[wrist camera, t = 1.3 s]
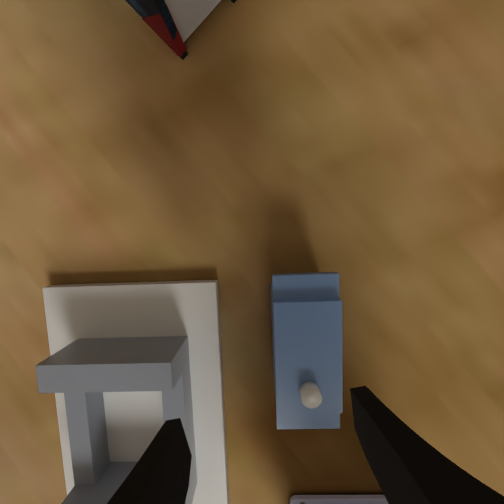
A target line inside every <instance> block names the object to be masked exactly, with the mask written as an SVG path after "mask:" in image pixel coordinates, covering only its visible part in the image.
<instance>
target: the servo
mask: <svg viewBox="0 0 504 504" xmlns="http://www.w3.org/2000/svg"><path fill="white" fill-rule="evenodd" d="M270 288H271V319H272V350H273V375H274V387H275V398H276V423H277V429H340V413H343V371H342V300H341V299H340V298H339V273H337V272H316V273H285V274H272V284H270Z"/></svg>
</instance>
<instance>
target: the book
mask: <svg viewBox="0 0 504 504" xmlns="http://www.w3.org/2000/svg"><path fill="white" fill-rule="evenodd" d="M126 1H127V2H128V3H129V4H130V5H131V6H132V7H133V9H134V10H135V11H136V12H137V13H138V14H139V15H140V16H141V17H142V19H143V20H144V21H145V22H146V23H147V24H148V25H149V26H150V27H151V28H152V29H153V30H154V31H155V32H156V33H157V34H158V36H159V37H160V38H161V39H162V40H163V41H164V42H165V43H166V44H167V45H168V46H169V47H170V48H171V49H172V50H173V51H174V52H175V53H176V54H177V55H178V56H180V57H181V58H182V60H183V59H184V58H185V57H186V56H187V55H188V53H187V51H186V47H185V45H184V42H185V41H186V40H187V38H188V37H189V36H190V35H191V34H192V33H193V32H194V31H195V29H196V28H197V27H198V26H199V25H200V24H201V23H202V22H203V20H204V19H205V18H206V17H207V16H208V15H209V14H210V13H211V12H212V10H213V9H214V8H215V7H216V6H217V5H218V4H219V3H220V1H221V0H126ZM231 1H232V2H233V3H234V2H235V1H236V0H231Z"/></svg>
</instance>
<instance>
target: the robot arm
mask: <svg viewBox="0 0 504 504" xmlns="http://www.w3.org/2000/svg"><path fill="white" fill-rule="evenodd" d="M350 391H351V400H352V408H353V416H354V425H355V430H356V432H357V435H358V438H359V441H360V443H361V446H362V449H363V451H364V454H365V456H366V458H367V461H368V463H369V465H370V467H371V469H372V471H373V473H374V475H375V477H376V479H377V481H378V483H379V485H380V487H381V489H382V491H383V493H384V495H293V496H292V497H291V498H290V504H504V496H502V495H501V494H499V493H498V492H496V491H494V490H493V489H491V488H490V487H488V486H486V485H485V484H483V483H482V482H480V481H479V480H477V479H476V478H474V477H473V476H472V475H470V474H469V473H467V472H466V471H464V470H463V469H461V468H460V467H459V466H457V465H456V464H455V463H453V462H452V461H450V460H449V459H448V458H446V457H445V456H444V455H442V454H441V453H440V452H439V451H437V450H436V449H435V448H433V447H432V446H431V445H430V444H429V443H427V442H426V441H425V440H424V439H422V438H421V437H420V436H419V435H418V434H416V433H415V432H414V431H413V430H412V429H411V428H409V427H408V426H407V425H406V424H405V423H404V422H403V421H401V420H400V419H399V418H398V417H397V416H396V415H395V414H394V413H393V412H392V411H391V410H389V409H388V408H387V407H386V406H385V405H384V404H383V403H382V402H381V401H380V400H379V399H378V398H377V397H376V396H375V395H374V394H373V393H372V392H371V391H370V390H369V389H368V388H367V387H366V386H362V387H356V388H350ZM191 460H192V454H191V451H190V448H189V445H188V442H187V438H186V435H185V432H184V429H183V426H182V422H181V419H180V418H177V419H171V420H166V421H165V423H164V424H163V425H162V427H161V428H160V430H159V431H158V433H157V434H156V436H155V437H154V439H153V440H152V442H151V443H150V445H149V446H148V448H147V449H146V451H145V452H144V453H143V455H142V456H141V458H140V459H139V461H138V462H137V463H136V465H135V466H134V468H133V469H132V471H131V472H130V473H129V475H128V476H127V478H126V479H125V480H124V481H123V483H122V484H121V485H120V487H119V488H118V489H117V491H116V492H115V493H114V495H113V496H112V497H111V499H110V500H109V501H108V502H107V504H185V501H186V496H187V491H188V486H189V479H190V470H191ZM301 502H304V503H301Z"/></svg>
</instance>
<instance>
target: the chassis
mask: <svg viewBox="0 0 504 504" xmlns="http://www.w3.org/2000/svg"><path fill="white" fill-rule="evenodd" d="M43 296H44V305H45V313H46V321H47V330H48V338H49V347H50V355H51V356H50V357H48V358H47V359H45V360H44V361H42V362H40V363H39V364H37V365H36V374H37V382H38V390H39V393H55V398H56V406H57V414H58V423H59V431H60V440H61V448H62V457H63V465H64V474H65V482H66V491H67V497H66V498H65V500H64V501H63V502H62V504H107V502H108V501H109V500H110V499H111V497H112V496H113V495H114V493H115V492H116V491H117V489H118V488H119V487H120V485H121V484H122V483H123V481H124V480H125V479H126V478H127V476H128V475H129V473H130V472H131V471H132V469H133V468H134V466H135V465H136V463H137V462H138V461H139V459H140V458H141V456H142V455H143V453H144V452H145V451H146V449H147V448H148V446H149V445H150V443H151V442H152V440H153V439H154V437H155V436H156V434H157V433H158V431H159V430H160V428H161V427H162V425H163V424H164V423H165V421H166V420H171V419H177V418H180V419H181V422H182V426H183V429H184V432H185V435H186V438H187V442H188V445H189V448H190V451H191V454H192V460H191V470H190V479H189V486H188V491H187V496H186V501H185V504H229V485H228V466H227V446H226V427H225V408H224V388H223V369H222V349H221V330H220V311H219V291H218V280H189V281H157V282H125V283H93V284H61V285H50V286H47V287H43Z"/></svg>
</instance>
